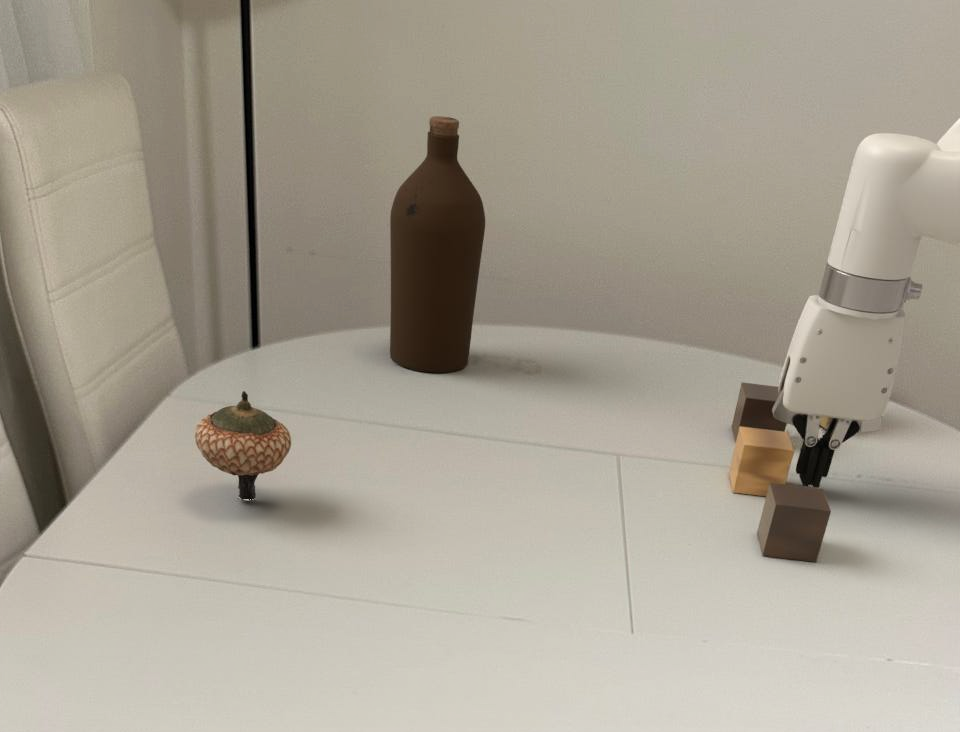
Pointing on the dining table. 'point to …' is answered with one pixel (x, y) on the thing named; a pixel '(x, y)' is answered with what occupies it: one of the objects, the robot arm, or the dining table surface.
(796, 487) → the walnut block
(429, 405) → the dining table surface
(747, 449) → the maple block
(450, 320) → the olive oil
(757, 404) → the walnut block
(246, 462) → the acorn
